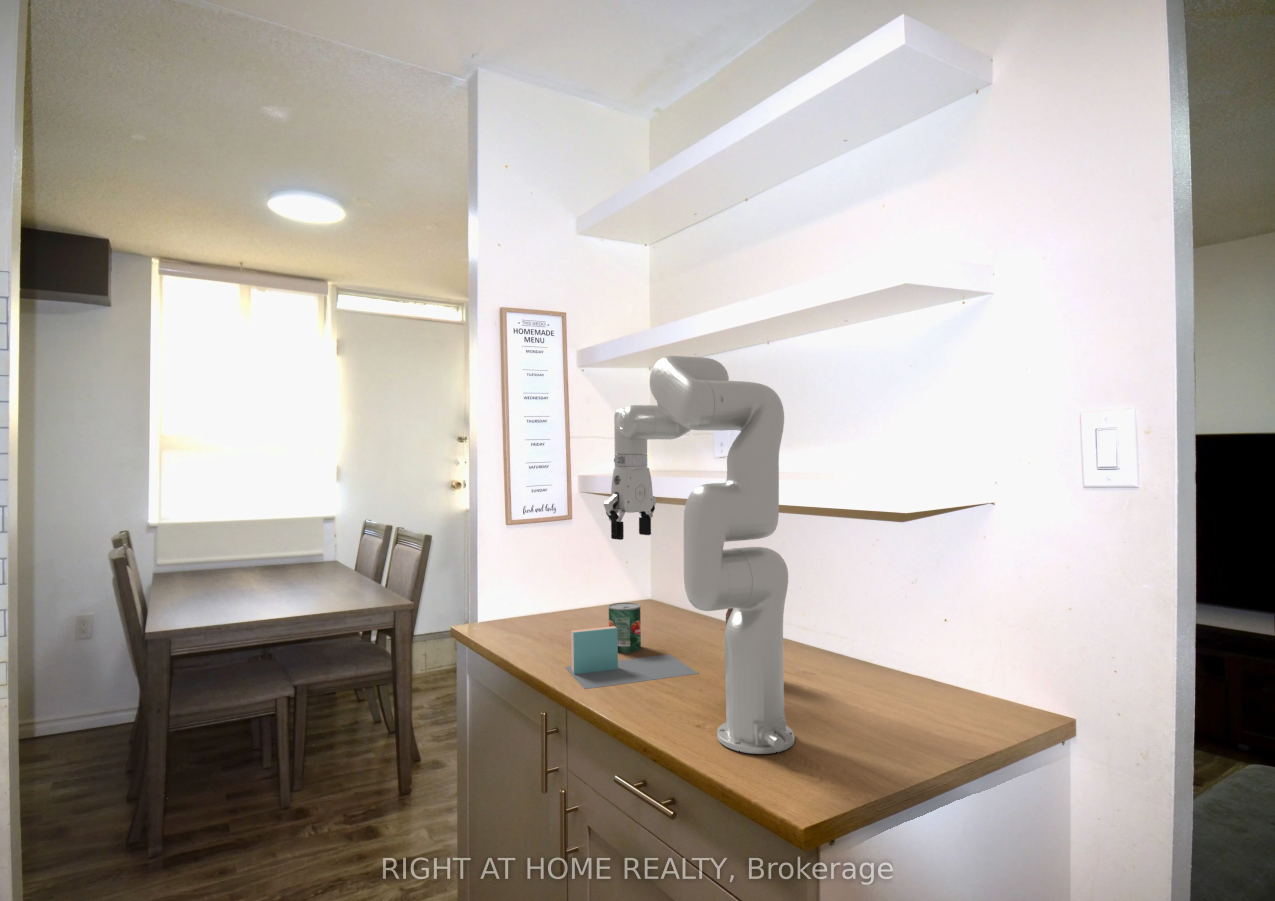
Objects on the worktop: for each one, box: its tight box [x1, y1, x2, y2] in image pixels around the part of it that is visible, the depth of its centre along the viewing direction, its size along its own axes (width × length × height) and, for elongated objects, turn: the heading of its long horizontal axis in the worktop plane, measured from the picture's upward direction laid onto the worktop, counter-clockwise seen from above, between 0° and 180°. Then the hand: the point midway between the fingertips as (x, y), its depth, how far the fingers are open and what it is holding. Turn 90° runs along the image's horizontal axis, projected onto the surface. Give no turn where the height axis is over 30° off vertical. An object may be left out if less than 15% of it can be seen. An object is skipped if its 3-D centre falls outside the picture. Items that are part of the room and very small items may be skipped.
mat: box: [564, 653, 700, 690], centre depth 150 cm, size 16×26×1 cm, turn 111°
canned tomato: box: [607, 602, 642, 654], centre depth 168 cm, size 8×8×11 cm
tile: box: [570, 626, 619, 674], centre depth 151 cm, size 2×10×9 cm, turn 110°
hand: (631, 536), depth 157 cm, fingers open, 9 cm apart
